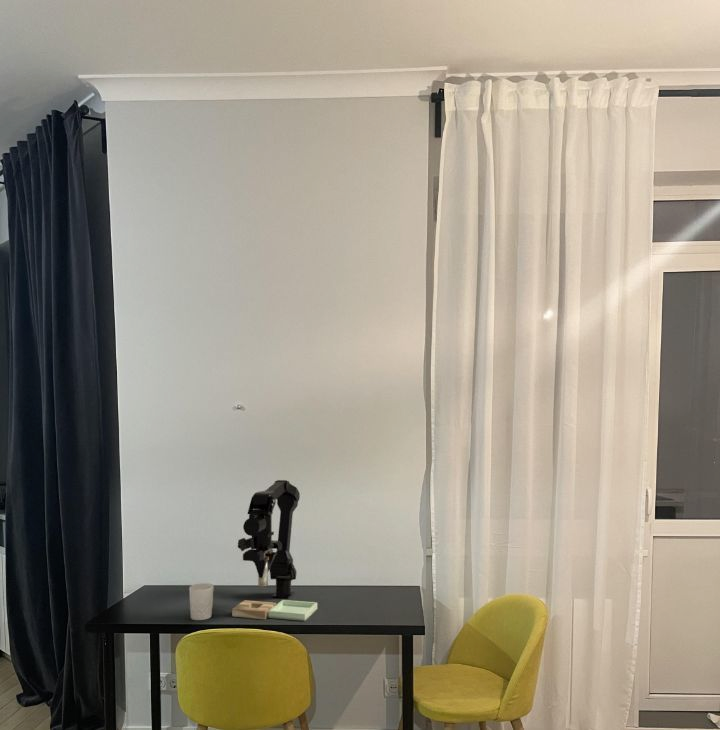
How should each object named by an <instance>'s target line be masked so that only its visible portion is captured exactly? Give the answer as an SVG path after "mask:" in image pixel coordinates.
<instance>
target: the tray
mask: <svg viewBox="0 0 720 730" xmlns="http://www.w3.org/2000/svg"><path fill="white" fill-rule="evenodd" d="M316 611H318V602H315V601H301V600H289V599H282V600H280V601H279V602H278V603H276V605H275V606H274V607H273V608H272V609H270V610H269V611H268V617H267V619H268V618H269V619H276V620H278V619H279V620H289V621H298V622H299V621H300V622H301V621H302V622H306V620H308V619H309V618H310V617H311V616H312V615H313V614H314V613H315V612H316Z"/></svg>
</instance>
